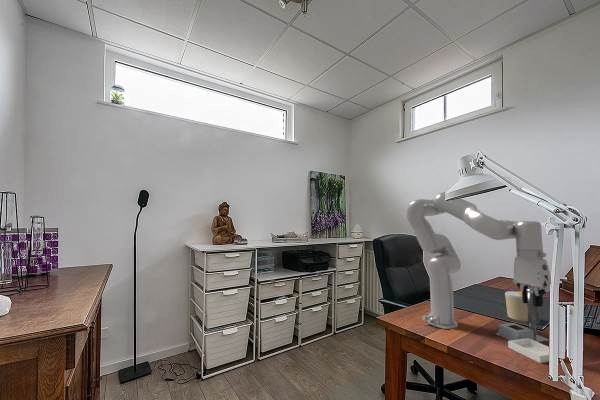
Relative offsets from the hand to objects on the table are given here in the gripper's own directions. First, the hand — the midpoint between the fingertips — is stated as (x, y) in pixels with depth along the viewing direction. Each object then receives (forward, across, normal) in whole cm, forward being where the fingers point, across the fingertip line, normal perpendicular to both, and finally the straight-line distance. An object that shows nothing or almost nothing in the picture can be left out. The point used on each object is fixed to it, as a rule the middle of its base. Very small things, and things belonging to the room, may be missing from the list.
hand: (532, 304), depth 98 cm
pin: (+7, 0, 0) cm, 7 cm away
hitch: (+18, +11, -9) cm, 23 cm away
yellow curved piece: (+4, +16, -18) cm, 24 cm away
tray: (+18, 0, 0) cm, 18 cm away
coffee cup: (+18, +27, -28) cm, 43 cm away
